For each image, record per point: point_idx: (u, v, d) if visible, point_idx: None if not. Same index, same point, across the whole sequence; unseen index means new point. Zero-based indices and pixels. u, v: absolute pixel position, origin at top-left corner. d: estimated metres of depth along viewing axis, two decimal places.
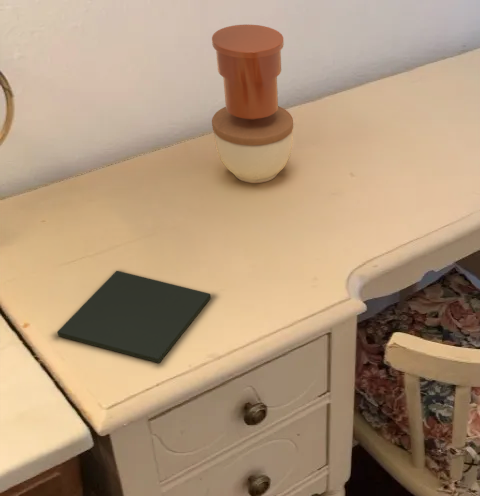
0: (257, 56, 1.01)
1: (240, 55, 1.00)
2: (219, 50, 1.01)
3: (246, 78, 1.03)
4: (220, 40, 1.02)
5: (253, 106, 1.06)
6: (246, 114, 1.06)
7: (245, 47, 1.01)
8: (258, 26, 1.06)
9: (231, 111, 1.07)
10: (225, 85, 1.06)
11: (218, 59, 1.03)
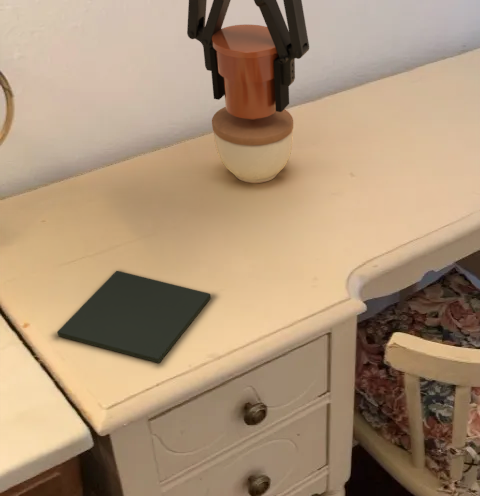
0: (257, 56, 1.01)
1: (240, 55, 1.00)
2: (219, 50, 1.01)
3: (246, 78, 1.03)
4: (220, 40, 1.02)
5: (253, 106, 1.06)
6: (246, 114, 1.06)
7: (245, 47, 1.01)
8: (257, 26, 1.06)
9: (231, 111, 1.07)
10: (225, 85, 1.06)
11: (218, 59, 1.03)
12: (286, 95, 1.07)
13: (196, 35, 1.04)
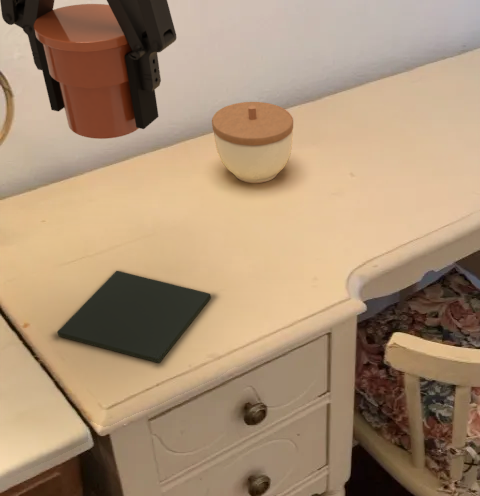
0: (96, 48, 0.69)
1: (70, 47, 0.68)
2: (41, 40, 0.69)
3: (84, 81, 0.71)
4: (45, 26, 0.70)
5: (101, 120, 0.74)
6: (93, 132, 0.75)
7: (79, 35, 0.69)
8: (108, 6, 0.74)
9: (72, 127, 0.75)
10: (61, 91, 0.74)
11: (45, 53, 0.71)
12: (151, 105, 0.75)
13: (15, 19, 0.72)
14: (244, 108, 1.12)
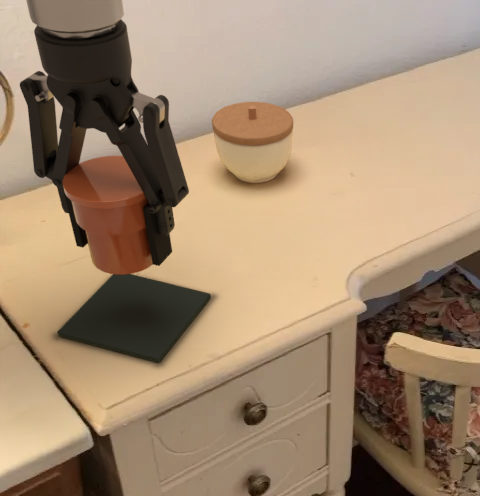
0: (118, 206, 0.78)
1: (95, 205, 0.77)
2: (70, 197, 0.78)
3: (107, 230, 0.80)
4: (73, 183, 0.79)
5: (121, 260, 0.83)
6: (114, 269, 0.84)
7: (103, 194, 0.78)
8: None
9: (96, 264, 0.84)
10: (86, 234, 0.83)
11: (72, 205, 0.80)
12: (166, 244, 0.84)
13: (46, 173, 0.81)
14: (244, 108, 1.12)
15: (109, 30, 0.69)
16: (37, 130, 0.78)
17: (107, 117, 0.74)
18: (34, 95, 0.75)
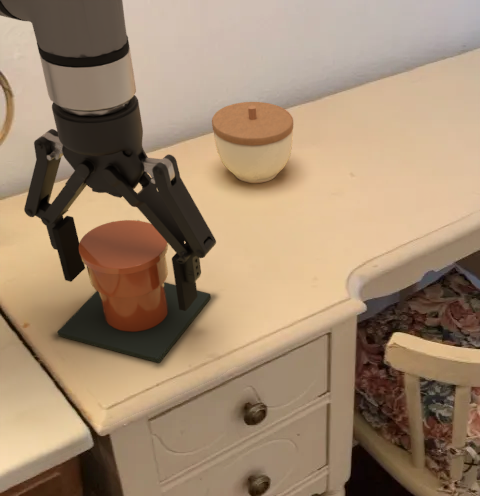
0: (131, 272, 0.83)
1: (109, 271, 0.83)
2: (85, 263, 0.83)
3: (120, 293, 0.85)
4: (88, 249, 0.84)
5: (133, 319, 0.88)
6: (126, 327, 0.89)
7: (117, 260, 0.83)
8: (139, 223, 0.88)
9: (108, 322, 0.89)
10: (99, 294, 0.88)
11: (87, 269, 0.85)
12: (192, 290, 0.87)
13: (35, 214, 0.85)
14: (244, 108, 1.12)
15: (122, 107, 0.74)
16: (39, 180, 0.82)
17: (119, 184, 0.78)
18: (46, 154, 0.79)
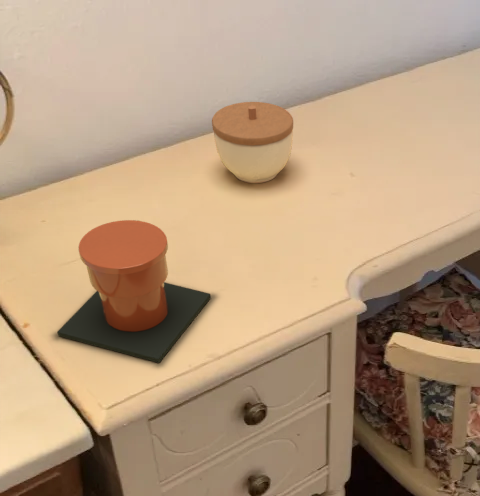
0: (131, 272, 0.83)
1: (109, 271, 0.83)
2: (85, 263, 0.83)
3: (120, 293, 0.85)
4: (88, 249, 0.84)
5: (133, 319, 0.88)
6: (126, 327, 0.89)
7: (117, 260, 0.83)
8: (139, 223, 0.88)
9: (108, 322, 0.89)
10: (99, 294, 0.88)
11: (87, 269, 0.85)
12: None
13: None
14: (244, 108, 1.12)
15: None
16: None
17: None
18: None
